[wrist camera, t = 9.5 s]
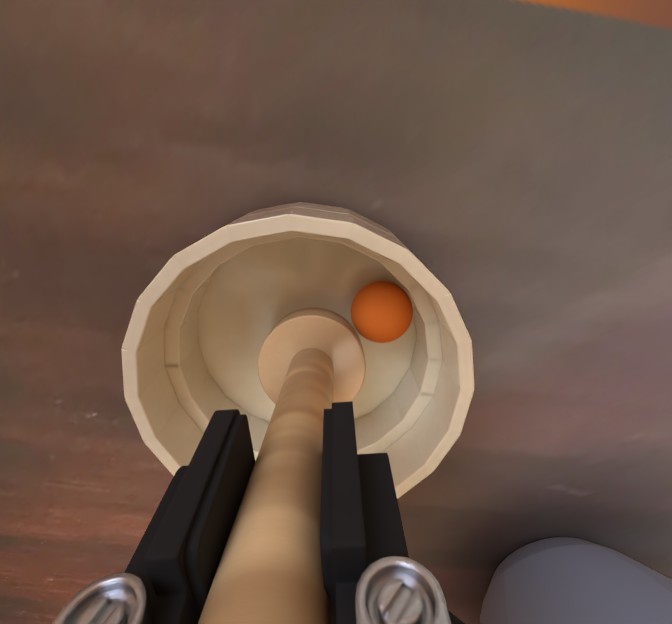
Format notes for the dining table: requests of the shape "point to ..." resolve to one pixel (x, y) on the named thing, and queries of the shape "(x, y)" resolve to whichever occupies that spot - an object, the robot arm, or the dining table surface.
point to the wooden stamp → (288, 477)
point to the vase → (575, 587)
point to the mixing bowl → (268, 309)
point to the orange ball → (381, 312)
